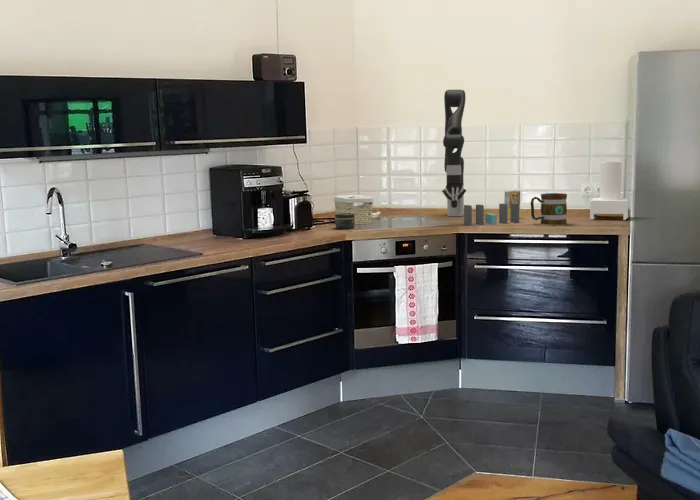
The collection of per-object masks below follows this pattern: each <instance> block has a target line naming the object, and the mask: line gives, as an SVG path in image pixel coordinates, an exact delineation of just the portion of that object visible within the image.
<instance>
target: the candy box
mask: <svg viewBox="0 0 700 500" xmlns="http://www.w3.org/2000/svg"><path fill="white" fill-rule="evenodd" d="M503 199H504V201H503V202H504V204H507V221H508V220H510V221H511V203H518V204H519V219H521V190H516V189H515V190H507V191H506V190H505V191H504V198H503Z"/></svg>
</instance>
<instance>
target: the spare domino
mask: <svg viewBox="0 0 700 500" xmlns="http://www.w3.org/2000/svg"><path fill="white" fill-rule="evenodd" d="M497 220H498V218H497V214H495V213H490V212H489V213H484V224H489V225H492V226H493V225H495V226H496V225H497V222H498V221H497Z"/></svg>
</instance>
